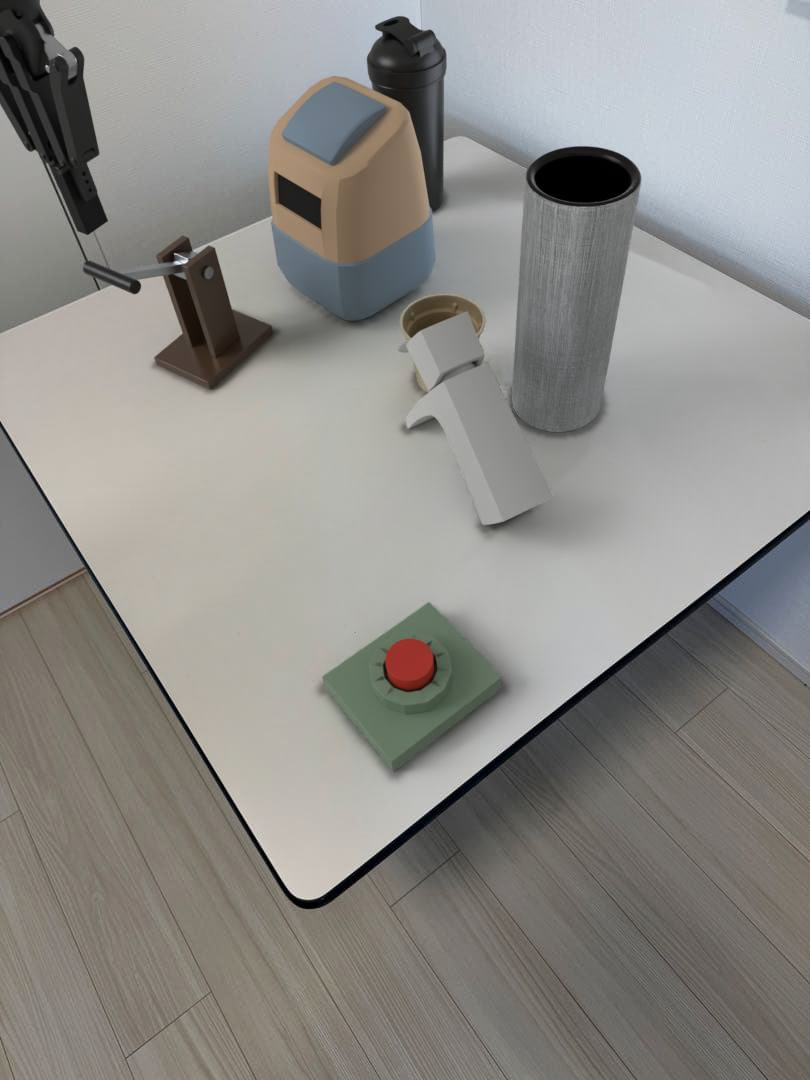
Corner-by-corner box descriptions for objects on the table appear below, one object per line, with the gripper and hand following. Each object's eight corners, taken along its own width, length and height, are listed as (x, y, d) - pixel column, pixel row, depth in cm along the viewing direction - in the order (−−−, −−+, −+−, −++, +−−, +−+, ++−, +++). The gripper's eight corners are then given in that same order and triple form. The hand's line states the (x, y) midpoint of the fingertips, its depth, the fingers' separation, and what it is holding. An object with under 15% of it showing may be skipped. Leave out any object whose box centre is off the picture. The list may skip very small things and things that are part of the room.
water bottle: (417, 174, 124) (409, 3, 105) (463, 199, 119) (463, 25, 100) (365, 200, 120) (347, 28, 102) (410, 228, 115) (399, 53, 97)
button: (406, 699, 68) (405, 689, 66) (377, 666, 70) (375, 656, 68) (443, 671, 69) (443, 661, 68) (414, 640, 71) (413, 629, 70)
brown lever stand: (210, 390, 97) (177, 292, 86) (156, 364, 101) (118, 268, 90) (273, 333, 103) (250, 235, 92) (220, 311, 106) (192, 213, 95)
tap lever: (130, 300, 83) (130, 276, 81) (82, 279, 85) (82, 256, 84) (220, 283, 93) (222, 262, 91) (176, 265, 95) (176, 244, 94)
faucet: (502, 522, 77) (414, 325, 75) (448, 530, 92) (374, 367, 91) (557, 495, 78) (472, 301, 77) (494, 508, 94) (423, 347, 92)
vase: (615, 390, 93) (660, 160, 71) (576, 446, 88) (611, 217, 67) (537, 361, 97) (557, 134, 75) (495, 413, 92) (504, 187, 70)
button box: (393, 772, 68) (389, 753, 64) (325, 688, 73) (318, 666, 70) (501, 688, 72) (503, 667, 68) (429, 614, 77) (428, 590, 73)
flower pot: (501, 377, 96) (503, 317, 89) (445, 419, 92) (443, 360, 85) (443, 342, 100) (441, 282, 93) (387, 381, 96) (381, 322, 89)
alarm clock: (271, 285, 109) (231, 107, 91) (366, 232, 115) (347, 55, 97) (351, 341, 101) (325, 159, 83) (448, 281, 107) (445, 99, 89)
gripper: (72, -68, 60) (167, 224, 79) (-40, -90, 65) (75, 190, 84) (-9, -31, 56) (111, 265, 75) (-121, -57, 61) (19, 227, 80)
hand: (92, 225), depth 79 cm, fingers closed
